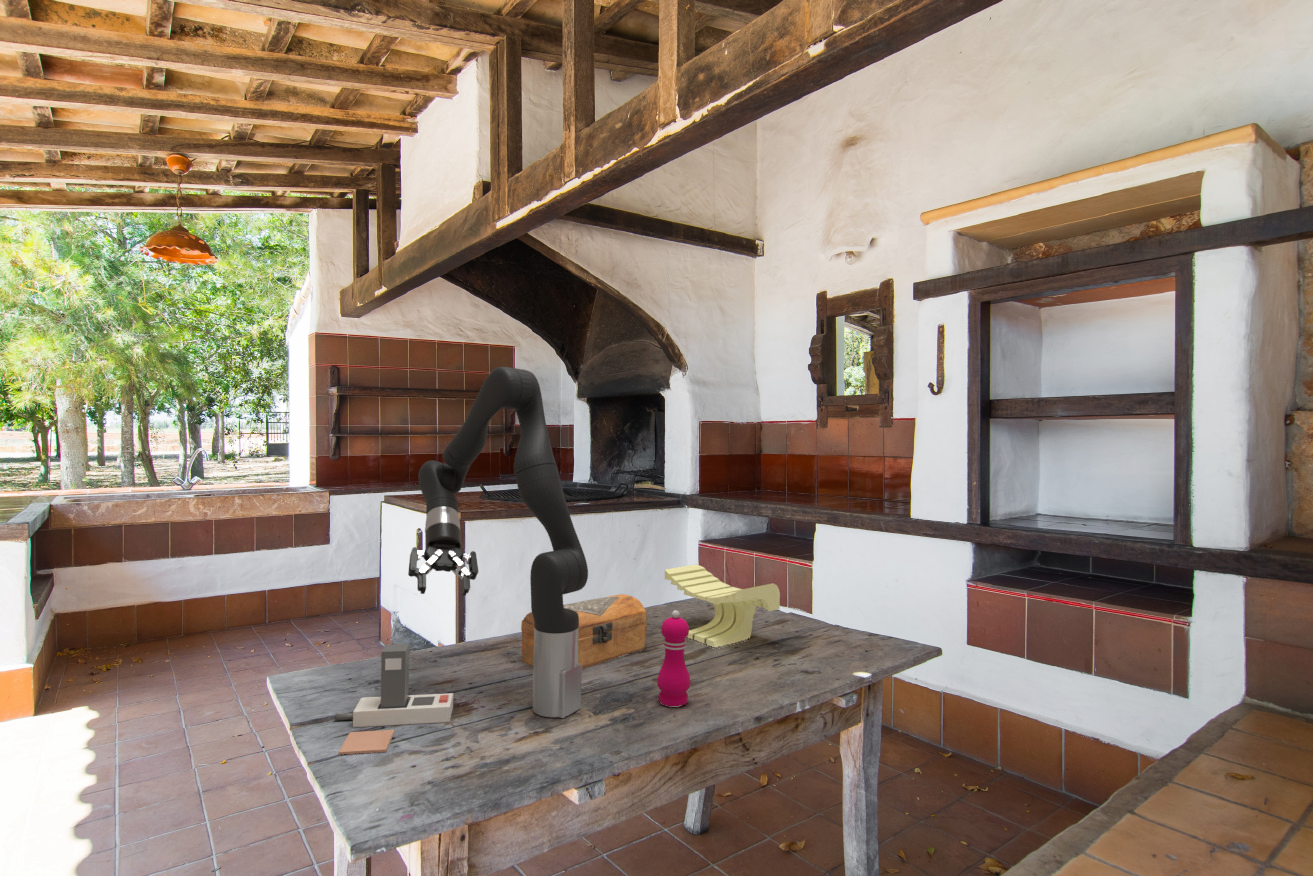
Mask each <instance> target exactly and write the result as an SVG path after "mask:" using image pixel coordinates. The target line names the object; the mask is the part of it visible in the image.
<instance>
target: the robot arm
mask: <svg viewBox="0 0 1313 876" xmlns="http://www.w3.org/2000/svg"><path fill="white" fill-rule="evenodd" d="M543 403H544V402H543V397H542V391H541V387H540V383H539V381H538V378H537V376H536V375H535V374H534V373H533V372H532V371H530V370H527V369H523V368H522V369H521V368H517V367H516V368H515V367H509V366H498V367H495V368H494V369H492V371H490V372H489V374H488V375H487V377H486V378H485V380H484V381H483V383H482V385H481V388H480V390H479V391H478V394H477V396H476V398H475V400H474V402H473V404H472V406H471V407H470V409H469V412H468V415H466V416H467V417H466V418H465V420H464V422H463V424H462V425H461V427H460V428H459V430H458V431H457V433H455V435H454V436H453V438H452V439H451V440H450V441H449V443H448V444H447V446H446V447H445V448H444V450H443V453H442V458H443V460H444V462H445V463H443V462H440V461H437V460H433V459H432V460H428V461H425V462H424V463H423V464H422V465H421V467H420V468H419V470H418V471H419V472H418V480H417V481H418V484H419V488H420V490H421V491H420V492H421V495H422V496H423V499H424V502H425V505H426V508H425V509H426V512H425V513H426V517H425V518H426V519H425V525H424V526H425V527H424V533H425V539H424V540H425V543H424V544H425V547H424V548H425V550H419V548H418V547H416V546H414V547H412V549H411V552H410V553H409V564H408V571H407V572H408V573H407V574H408V576H409V577H415V578H416V579H417V588H416V589H417V591H418V592H420V594H421V595H424V594H425V593H426V590H427V575H428V574H430V573H431V572H432V570H435V572H446V573H447V572H449V573H451V572H452V573H453V574H454V575H455V576H457V577H459V579H460V580H461V582H460V583H461V596H464V597H465V596H466V595H467V594H469V592H470V590H471V580H473V581H474V580H476V579H477V575H478V574H479V566H478V559H477V553H476V551H474V550H472V551H470V553H464V552H463V551H462V543H461V541H462V539H461V538H462V537H461V522H460V517H459V503H458V497H457V495H456V494H458V493H459V492H461V490H462V488H463V486H464V483H465V479H466V476H467V475H468V473H469V469H470V467H471V466H472V464H473V463H474V462H475V460H476V459H477V458H478V456H479V455H480V454H481V452H482V451H483V449H484V448H485V446H486V443H487V440H488V427H489V423H490V421H491V420H492V418H493V417H494V416H495V415H496V414H497V413H498V412H499V411H500V410H501V409H506V410H515V413H516V416H517V420H518V424H519V428H520V429H519V430H520V438H519V442H518V446H517V449H516V453H515V456H514V460H513V472H514V477H515V478H514V479H515V480H516V485H517V490H518V493H519V496H520V498H521V500H522V501H523V503H524V505H525V506H526V507H527V509H529V511H530V512H531V513H532V514H533V515H534V516H535V518H536V519H537V520H538V522H539V523H540V524H541V525H542V526H543V528H544V529H545V532H546V533H547V535H548V537H549V540H550V544H551V546H552V550H551V551H545V552H542V553H541V552H540V553H539V554H538V555H537V556H535V558H534V559H533V561H532V564H531V567H530V568H531V569H530V579H529V580H530V583H529V584H530V604H531V606H530V608H531V609H530V610H531V612H532V615H533V618H534V664H533V666H532V668H533V670H532V671H533V673H532V677H533V678H532V712H533V713H535V714H536V715H538V716H540V717H545V718H561V719H564V718H567V717H568V716H570V715H572V714H573V713H575V712H577V711H579V710H580V709H581V708H582V678H583V677H582V671H583V669H582V664H581V663H578V634H579V616H578V613H577V612H575V611H573V610H571V609H567V608H564V606H563V605H564V595H566V594H570V593H574V592H578V591H580V590H583V588H585V586H587V585H586V584H587V582H588V578H589V568H588V563H587V558H586V556H585V553H584V550H583V547H582V544H581V542H580V539H579V537H578V535H577V531H576V528H575V526H574V524H573V521H572V517H571V514H570V510H569V507H568V504H567V501H566V497H565V494H564V490H563V486H562V481H561V477H560V472H559V469H558V465H557V461H556V460H555V456H554V452H553V447H552V445H551V439H550V437H549V431H548V427H547V422H546V416H545V411H544V404H543ZM421 558H423V559H424V560H425V563H424V564H423V565H422V566H421V568H419V567H417V566H418V561H420V560H421ZM463 560H464V561H465V563H466V565H468V568H467V567H466V565H465V563H464V562H463ZM566 716H567V717H566Z"/></svg>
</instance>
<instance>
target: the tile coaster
mask: <svg viewBox="0 0 1313 876" xmlns="http://www.w3.org/2000/svg"><path fill="white" fill-rule="evenodd" d="M394 734H395V729H383V730H365V731H352V732H351V731H350V732H349V733H348V734H347V736H346V738H345V740H344V742H343V743H342V745H341V747H340V749H339V750H338V756H342V755H343V756H345V755H344V754H347V755H359V753H360V754H361V753H364V754H377V753H378V752H380V753H386V752H387V751H388V749H389V746H390V743H391V741H392V739H393V737H394ZM371 752H372V753H371ZM374 752H375V753H374ZM355 753H356V754H355ZM341 754H342V755H341Z"/></svg>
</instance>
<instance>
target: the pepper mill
mask: <svg viewBox="0 0 1313 876" xmlns="http://www.w3.org/2000/svg"><path fill="white" fill-rule="evenodd" d="M680 613H681V612H679V610H676V609H675V610H673V611H672V612H671V617H668V618H666V619H665V620H664V621H663V622H662V624H661V628H660V629H661V631H660V632H661V634H662V636H663V637H664V638H663V641H662V642H663V644H662V646H663V648H664V660H663V662H662V665H661V667H660V669H659V672H658V674H657V681H656V683H657V687H658V689H659V690H660V692H659V694H658V702H659V701H660V702H661V703H662V704H664V705H668V706H679V705H684V704H686V703H687V702H688V700H689V698H688V697H689V696H688V695H689V694H688V690H689V689H690V688H691V677H690V673H689V671H688V668H687V666H686V665H687V664H686V662H685V648H687V640H686V637H687V636H688V634H689V630H690V628H689V624H688V622H687V621H686V619H684V618H682V617H680V615H681V614H680ZM688 703H689V702H688ZM688 703H687V704H688ZM662 704H661V705H662ZM687 704H686V705H687Z"/></svg>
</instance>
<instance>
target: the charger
mask: <svg viewBox="0 0 1313 876" xmlns="http://www.w3.org/2000/svg"><path fill="white" fill-rule="evenodd" d="M380 667H381V668H380V697H381V709H389V708H406V706H407V704H408V695H409V683H410V681H409V679H410V643H398V644H397V643H394V644H393V643H392V644H389V643H388V644H385V645H384V648H383V649H382V650H381V664H380Z"/></svg>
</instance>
